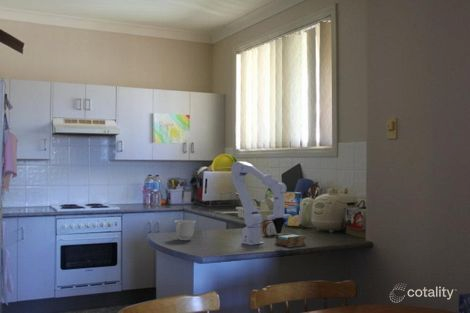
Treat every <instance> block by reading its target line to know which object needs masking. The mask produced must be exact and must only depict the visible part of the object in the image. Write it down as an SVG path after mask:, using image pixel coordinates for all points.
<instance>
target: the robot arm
mask: <svg viewBox="0 0 470 313" xmlns="http://www.w3.org/2000/svg"><path fill="white" fill-rule="evenodd" d="M230 171H231V175H232V176H231V180H232V183H233V186H234V188H235V189H236V193H237V195H238V197H239V200H240V202H241V205H242V207H243V209H244V212H243V218H244V220H243V221H244V223H245V225H246V227H243V228H242V231H241V242H240V243H241V244H245V245H248V246H253V245H260V244H264V241H261V231H262V230H261V228H262V227H261V226H262V223H263V222H264V216H263V215H262V213H261V212H260V211H259V209H258V208H256V206H255V205H254V203H253V201H252V198H251V196H250V193H249V191H248V188H247V185H246V184H245V181H244V180H245V178H246V176H247V175H248V174H251V175H252V176H253V177H255V178H257V179H259V180H260V181H261V184H262V185H263V186H265V187H266V188H268V189H270V190H271V193H272V197H273V198H272V199H273V202H272V206H273V207H272V214H270V215H267V216H266V221H272V222H273V224H274V226H275V229H276V233H278V234H282V230H283V227H284V222H285V219H284V218H290V214H284V198H285V197H284V196H285V192H287V188H288V187H287V185H286V184H285V183H284V182H283V181H281V182H280V180H279V179H275V177H273V175H272V174H264V173H263V172H262V171H261V170H259V169H258V168H257V167H255V166H254V165H253V164H252V163H249V161H239V160H238V161H234V162H233V163H232V164H231V167H230Z"/></svg>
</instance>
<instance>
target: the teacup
mask: <svg viewBox="0 0 470 313" xmlns="http://www.w3.org/2000/svg"><path fill="white" fill-rule="evenodd" d="M173 222H174V225H175V231H176V232H175V233H176V235H177V237H178V238H179V240H180V241H189V240H191V237H192V236H193V235H194V230H195V224H196V222H197V221H196V220H193V219H176V220H174V221H173Z"/></svg>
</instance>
